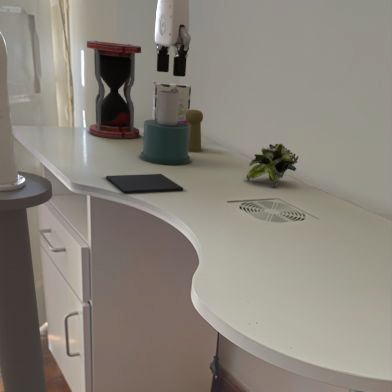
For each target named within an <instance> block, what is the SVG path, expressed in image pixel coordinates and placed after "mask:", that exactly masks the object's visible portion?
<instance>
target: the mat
mask: <svg viewBox="0 0 392 392" xmlns="http://www.w3.org/2000/svg"><path fill="white" fill-rule="evenodd" d="M105 179H106V180H107V181H109V182H110V183H111V184H112V185H114V186H115V187H116V188H117V189H118V190H120V191H121V192H122V193H123V194H143V193H144V194H145V193H163V192H180V191H184V187H182V186H181V185H179V184H178V183H176V182H175V181H173V180H171V179H170V178H168V177H167V176H166V175H164V174H162V173H150V174H149V173H148V174H147V173H145V174H117V175H106V176H105Z"/></svg>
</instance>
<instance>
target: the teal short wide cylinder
mask: <svg viewBox="0 0 392 392" xmlns="http://www.w3.org/2000/svg"><path fill="white" fill-rule="evenodd" d="M189 136H190V125H188V124H186V123H182V122H177V125H175V126H169V125H161V124H158V123H157V120H152V119H147V120H144V121H143V140H142V141H143V145H142V146H143V147H142V152H140V159H142V160H143V161H145V162H148V163H152V164H157V165H164V166H165V165H166V166H182V165H186V164H189V163H190V162H191V161H190V160H191V157H190V155H189V151H188V148H189Z"/></svg>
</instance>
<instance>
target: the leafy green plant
mask: <svg viewBox="0 0 392 392" xmlns="http://www.w3.org/2000/svg"><path fill="white" fill-rule="evenodd" d="M260 151H261V153H262V154H261V153H260V154H258V153H254V158H252V159H251V161H250V162H249V167H251V166H252V165H254V166H253V167H252V168H251V169H250V170H249V171H248V172H247V174H246V176H245V179H246V180H247V182H249V181H250V179H257V178H259V177H261V176H263V175H265V174H268V178H269V180H271V181H273V182H275V183H274V186H273V188H276V186H277V185H278V183H279V181H280V179H282V178H283V177H284V175H285V173H286V171H288V170H290V171H292V172H295V171H297V168H296V166H294V165H295V164H297V163H298V160H299V155H297V156H296V153H293V151H291V150H290V149H288V148H287V147H286V146H285V145H283V144H282V143H275V145H274V144H271V143H270V144H269V145H268V147H266V148H265V147H261V149H260Z"/></svg>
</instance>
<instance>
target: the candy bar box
mask: <svg viewBox="0 0 392 392" xmlns="http://www.w3.org/2000/svg"><path fill="white" fill-rule="evenodd" d="M191 90H192V86H191V85H189V84H186V83H185V84H183V83H172V82H171V83H170V82H153V83H152V116H151V117H152V119H151V120H157V115H158V92H159V91H173V92H178V93H179V106H178V121H177V122H182V123H186V124H187V120H186V112H187V111H188V110H191V109H190V108H191V94H192V91H191Z"/></svg>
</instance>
